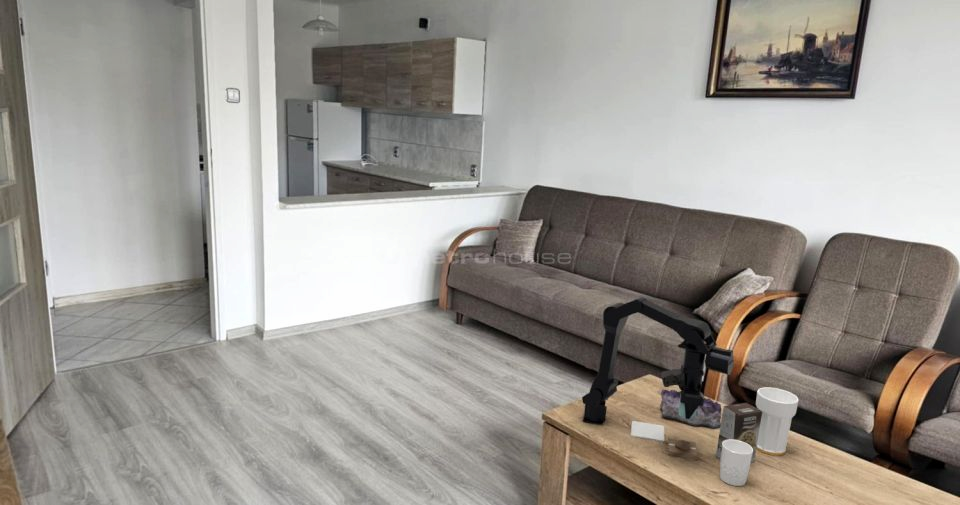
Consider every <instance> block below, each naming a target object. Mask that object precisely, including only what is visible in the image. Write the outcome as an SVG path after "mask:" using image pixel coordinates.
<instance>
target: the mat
mask: <svg viewBox="0 0 960 505" xmlns="http://www.w3.org/2000/svg"><path fill="white" fill-rule="evenodd" d="M630 428H631V430H630V437H633V438H634V437H635V438H640V439H645V440H650V441H657V442H663V443H665V425H661V424H660V425H659V424H654V423H648V422H643V421H642V422H641V421H635V420H631V427H630Z"/></svg>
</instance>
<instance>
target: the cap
mask: <svg viewBox="0 0 960 505" xmlns="http://www.w3.org/2000/svg"><path fill="white" fill-rule="evenodd" d="M679 402H680V398H679ZM696 410H697V409H696ZM696 410H695V412H694V413H693V415H692V416H691V417H690V419H694V418H695V417H696ZM679 416H681V417H683V418H685V405H684V404H683V403H681V402H680V406H679Z"/></svg>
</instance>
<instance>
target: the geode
mask: <svg viewBox="0 0 960 505" xmlns="http://www.w3.org/2000/svg"><path fill="white" fill-rule="evenodd" d="M660 396H661V400H660V401H661V402H660V405H659V407H660V409H661V410H660V411H662V412H661V417H664V418H667V419H672V420H677V421H679V422H681V423H684V424H688V425H689V426H692V427H697V426H698V427H699V426H705V427H706V426H707V427H709V428H710V429H712V430H715V429H720V426H721V420H722V411H723V409H722V404H721V403H719V402H718V401H715V402H714V400H712V399H711V398H706V397H704V405H703V406H699V407H698V408H697V410H696V417H695V418H694V419H686V418H683V417H681V416H679V406H680V402H679V398H680V391H677V390H675V389H670V390H667V389H661V392H660Z"/></svg>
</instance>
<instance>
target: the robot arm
mask: <svg viewBox="0 0 960 505" xmlns="http://www.w3.org/2000/svg"><path fill="white" fill-rule="evenodd" d="M602 312H603V313H602V324H603V327H604V338H603V343H602V350H601V355H600V361H599V366H598V371H597V374H596V376H595V378H594V379H593V381H592V383H591V386H590V388H589V392H588V393H586V394H585V395H583V396H582V397H581V400H582V404H584V411H583V412H584V413H583V418H582V422H583V423H589V424H595V425H602V426H603V425H604V422H606V420H607V419H606V418H607V411H608V406H607V405H606V401H607V400H609V399H610V398H611V397H612V396H613V395H614V394H615V393H616V392H618V388H617V387H618V386H617V385H618V384H619V380H618V379H615V377H614V376H615V375H614V370H615V364H616V358H617V356H618V355H617V353H618V347H619V343H620V337H621V333H622V330H623V329H624V327H625V325H626V324H627V321H628V318H629V316H631V315H634V314H637V313H639V314H640V315H642V316H644V317H646V318H649V319H651V320H653V321H655V322H657V323H658V324H661V325H663V326H665V327H667V328H668V329H669V328H670V329H671V330H673V331H674V332H676V334H677V335H678V336H679V337H680V338H681V339H683V341H682V342H680V343H679V344H677V347H678V348H679V349H684V354H683V360H682V361H683V362H682V363H681V365H680V368H677V369H669V370H663V371H661V372H660V374H661V375H660V377H661V378H660V379H661V381H662V383H663V384H662V385H663V387H664V388H669V387H672V386H677V385H678V388H679V390H680V391H679V392H680V402H681V403H683V404H684V405H685V418H686V419H690V417H691V416H692V415H693V413H694V412H695V410H696V409H697V408H698V407H699V406H703V405H704V398H705V396H704V394H703V393H702V392H701V390H702V389H703V377H704V375H705V371H704V368H707V369H708V370H710V371H713V372H717V373H719V374H724V375H728V376H730V375H731V373H732V371H733V369H734V368H733V367H734V365H735V360H734V351H733V349H728V348H727V349H725V348H722V347H721V348H720V347H717V342H716V341H715V338H714V337H713V335H712V333H711V332H712V331H711V328H710V325H709V324H708V323H707V322H706V321H703V320H699V319H697V318H691V317H685V316H681V315H679V314H677V313H675V312H673V311H672V310H669V309H667V308H665V307H662V306H661V305H659V304H657V303H654V302H652V301H650V300H648V299H647V298H645V297H644V296H642V297H640V296H639V297H637V298H635V299H634V300H631V301H627V302H625V303H623V302H616V303H614V304H611V305H609V306H607V307H605V308H604V309H603V311H602Z"/></svg>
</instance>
